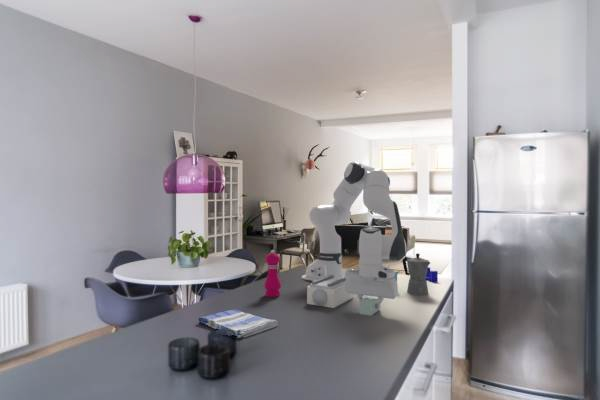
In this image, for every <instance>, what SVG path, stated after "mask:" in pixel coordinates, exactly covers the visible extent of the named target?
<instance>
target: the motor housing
mask: <svg viewBox="0 0 600 400" xmlns="http://www.w3.org/2000/svg"><path fill="white" fill-rule="evenodd" d="M345 281H346V277H345V276H344V278H334V275H330V276H327V277H324V278H321V279H318V280H316V281H311V283H310V284H309V285H308V286H306V287H307V289H306V301H307V302H306V303H307V305H313V306H319V307H326V308H332V309H335V308H337V307H339V306H340V305H342V304H344V303H346V302H348V301H349V300H352V299H354V294H353V293H347V292H346V291H345Z"/></svg>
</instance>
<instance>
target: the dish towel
mask: <svg viewBox="0 0 600 400" xmlns="http://www.w3.org/2000/svg"><path fill="white" fill-rule="evenodd" d="M198 322H199V324H201V325H204V326H207V325H208V326H207V327H210V328H212V329H214V330H216V329H230V330H233V331H234V332H235V333H236V336H237V337H236V338H238V339H241V338H242V337H243V339H244V338H247V337H250V336H253V335H257V334H259V333H262V332H264V331H267V330H270V329H274V328H276V327H277V326H278V325H279V324H278V323H279V322H278V321H277V320H276V319H269V318H264V317H262V316H258V315H254V314H252V313H248V312H243V311H241V310H238V309H229V310H225V311H220V312H216V313H213V314H209V315H206V316H201V317H198Z"/></svg>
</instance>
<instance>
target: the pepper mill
mask: <svg viewBox="0 0 600 400" xmlns="http://www.w3.org/2000/svg"><path fill="white" fill-rule="evenodd" d="M265 262H266V263H267V265H266V268H267V277H266V279H265V281H264V288H265V296H266V297H268V298H276V297H280V296H281V291H280V289H281V287H282V283H281V280H280V278H279V276H278V269H279V262H280V256H279V254H277V253H276V252H275V250H274V249H272V250H270V253H268V254H266V257H265Z"/></svg>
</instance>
